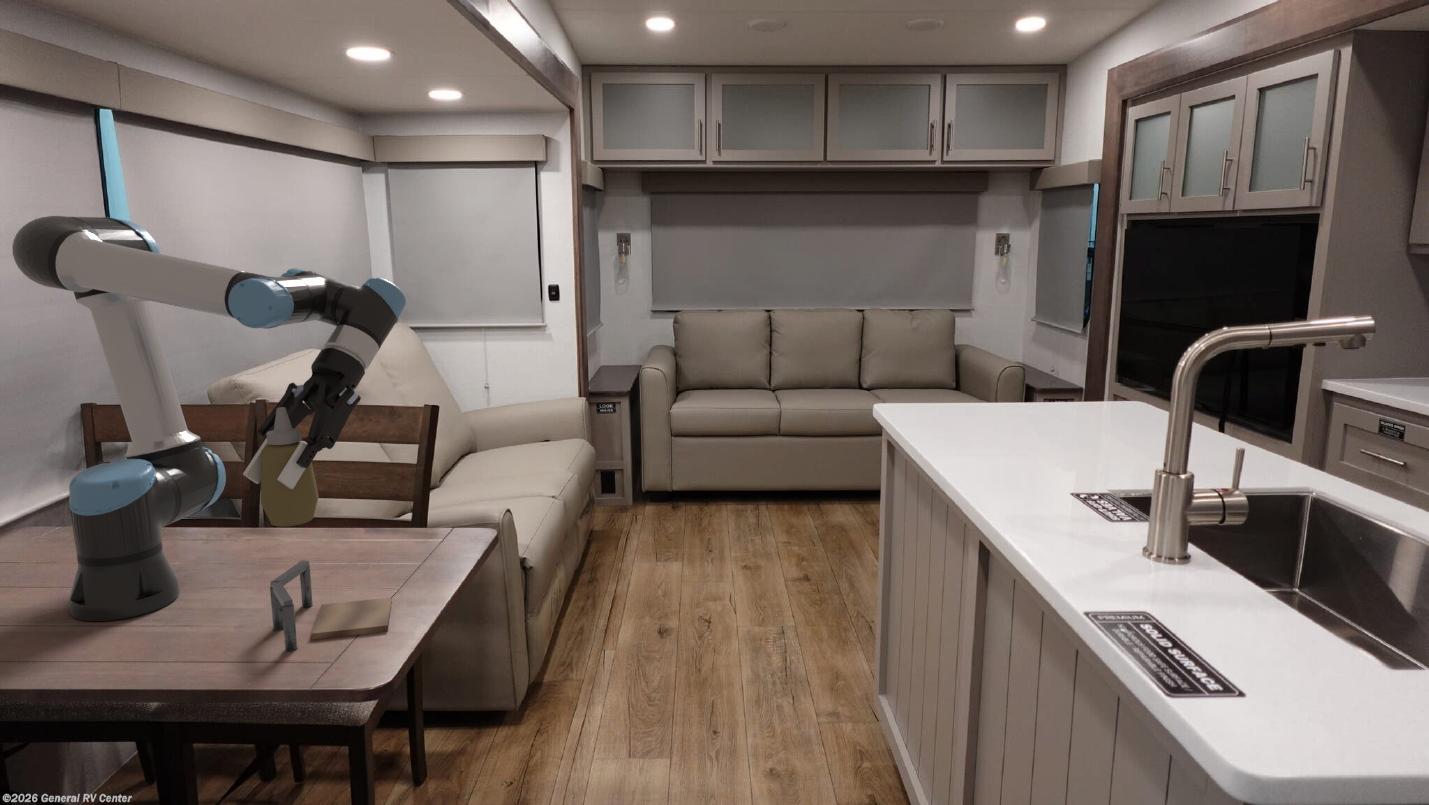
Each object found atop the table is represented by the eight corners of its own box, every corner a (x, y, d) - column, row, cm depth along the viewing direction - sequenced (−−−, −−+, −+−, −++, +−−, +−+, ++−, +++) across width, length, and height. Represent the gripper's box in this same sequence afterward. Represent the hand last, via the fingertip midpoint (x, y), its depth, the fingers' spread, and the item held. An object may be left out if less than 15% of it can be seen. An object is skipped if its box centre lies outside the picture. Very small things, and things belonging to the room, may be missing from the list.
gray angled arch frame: (262, 654, 125) (258, 605, 123) (283, 606, 141) (279, 561, 140) (296, 650, 126) (292, 601, 125) (313, 603, 142) (310, 559, 141)
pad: (311, 639, 130) (311, 633, 129) (321, 610, 140) (321, 604, 140) (387, 631, 133) (387, 625, 133) (391, 603, 143) (391, 597, 143)
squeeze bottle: (332, 517, 132) (322, 405, 128) (287, 533, 125) (275, 415, 121) (297, 510, 135) (286, 401, 132) (251, 525, 128) (238, 410, 125)
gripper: (403, 377, 136) (331, 501, 124) (315, 370, 144) (240, 486, 132) (376, 348, 130) (298, 476, 119) (286, 342, 138) (204, 462, 126)
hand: (267, 481), depth 125 cm, fingers closed on squeeze bottle, 6 cm apart
